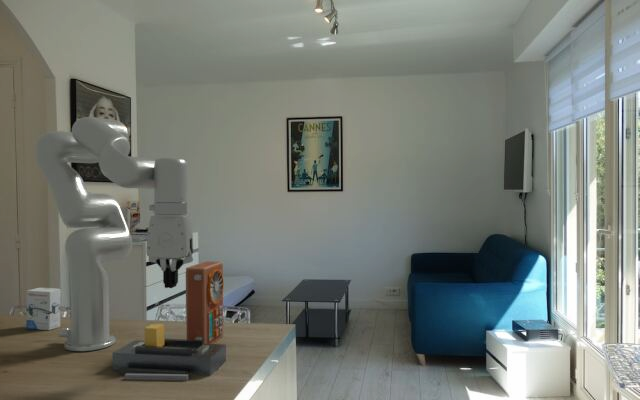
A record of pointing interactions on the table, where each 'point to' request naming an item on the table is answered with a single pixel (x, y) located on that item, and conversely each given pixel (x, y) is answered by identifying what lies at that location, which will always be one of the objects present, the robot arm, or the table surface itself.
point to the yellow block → (154, 335)
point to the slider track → (172, 356)
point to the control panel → (204, 301)
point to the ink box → (43, 308)
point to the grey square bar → (156, 376)
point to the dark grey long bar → (148, 371)
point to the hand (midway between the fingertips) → (170, 286)
